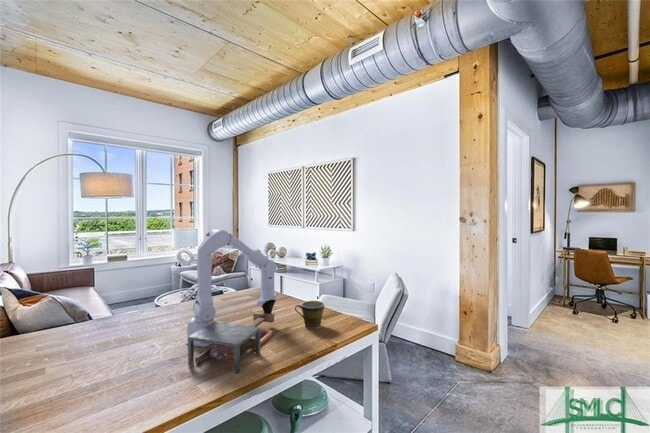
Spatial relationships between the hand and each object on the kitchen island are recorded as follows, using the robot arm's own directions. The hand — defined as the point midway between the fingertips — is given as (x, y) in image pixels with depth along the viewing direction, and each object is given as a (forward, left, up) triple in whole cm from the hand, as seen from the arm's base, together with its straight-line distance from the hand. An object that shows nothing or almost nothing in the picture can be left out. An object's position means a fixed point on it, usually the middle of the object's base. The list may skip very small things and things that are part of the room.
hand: (267, 316), depth 134 cm
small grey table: (0, -31, -4) cm, 31 cm away
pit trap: (0, -15, -4) cm, 15 cm away
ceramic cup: (+18, +4, -4) cm, 19 cm away
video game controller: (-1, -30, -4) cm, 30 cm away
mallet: (0, -20, -4) cm, 20 cm away
